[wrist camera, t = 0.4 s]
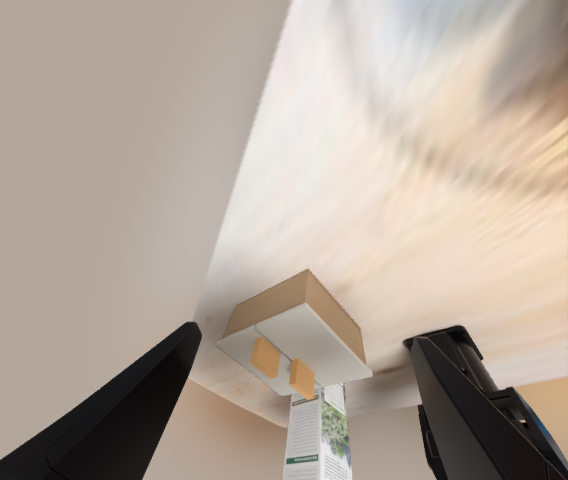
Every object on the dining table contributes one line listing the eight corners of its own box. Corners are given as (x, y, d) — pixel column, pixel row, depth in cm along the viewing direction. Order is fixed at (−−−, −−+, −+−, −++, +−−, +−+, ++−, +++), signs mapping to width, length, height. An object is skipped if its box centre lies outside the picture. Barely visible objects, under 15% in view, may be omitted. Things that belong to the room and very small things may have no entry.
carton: (360, 327, 27) (366, 368, 23) (288, 351, 32) (282, 388, 28) (308, 268, 23) (304, 304, 19) (236, 305, 28) (221, 340, 24)
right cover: (371, 371, 22) (377, 403, 20) (323, 382, 25) (323, 412, 22) (305, 302, 19) (303, 331, 16) (256, 323, 21) (248, 351, 19)
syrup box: (292, 367, 34) (275, 513, 22) (322, 357, 31) (321, 517, 19) (316, 385, 36) (312, 530, 23) (346, 376, 33) (359, 535, 21)
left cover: (320, 383, 25) (320, 412, 23) (281, 391, 28) (277, 419, 25) (254, 324, 21) (245, 352, 19) (216, 341, 24) (204, 367, 21)
